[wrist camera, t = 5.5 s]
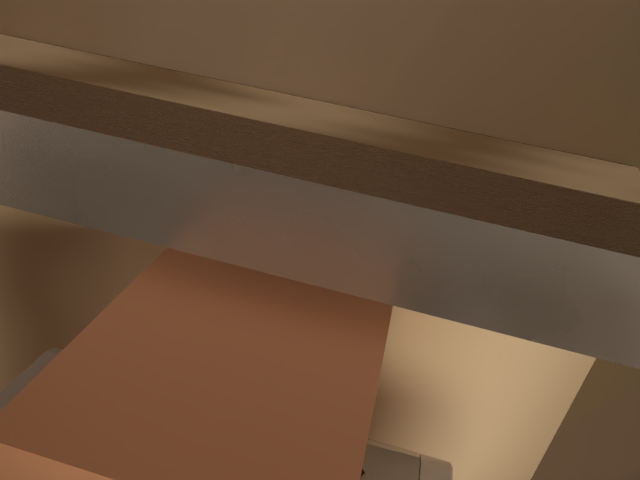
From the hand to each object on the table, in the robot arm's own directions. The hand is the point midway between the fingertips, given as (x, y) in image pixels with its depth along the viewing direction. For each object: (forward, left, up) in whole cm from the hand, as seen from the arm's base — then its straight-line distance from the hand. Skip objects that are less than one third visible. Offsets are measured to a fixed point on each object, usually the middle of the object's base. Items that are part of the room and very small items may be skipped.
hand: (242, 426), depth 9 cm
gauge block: (0, 0, -2) cm, 2 cm away
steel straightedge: (+5, -4, -2) cm, 7 cm away
